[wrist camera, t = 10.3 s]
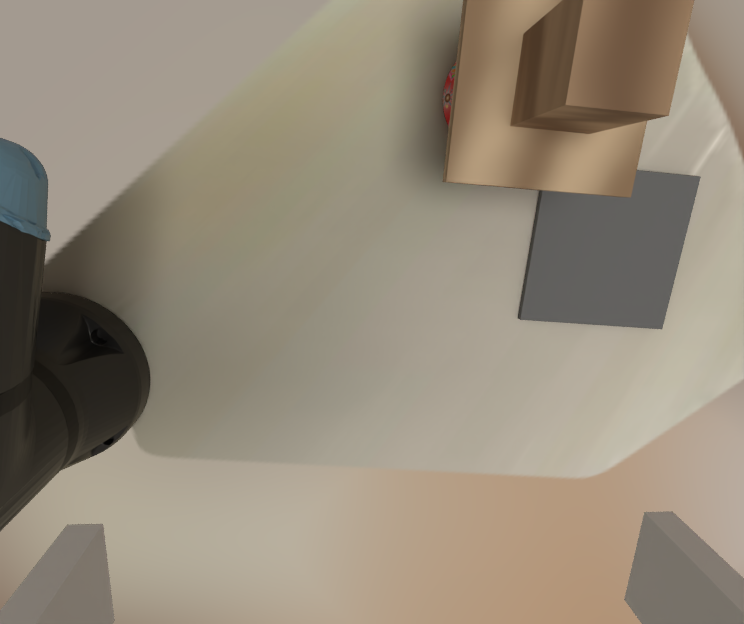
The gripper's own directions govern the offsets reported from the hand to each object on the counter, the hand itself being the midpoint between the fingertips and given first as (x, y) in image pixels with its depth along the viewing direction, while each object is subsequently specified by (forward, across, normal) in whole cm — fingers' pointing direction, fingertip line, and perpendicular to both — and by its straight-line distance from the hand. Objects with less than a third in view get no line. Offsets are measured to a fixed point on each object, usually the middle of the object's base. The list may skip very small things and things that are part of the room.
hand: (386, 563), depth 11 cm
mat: (+31, +24, +5) cm, 39 cm away
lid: (+20, +12, +15) cm, 28 cm away
